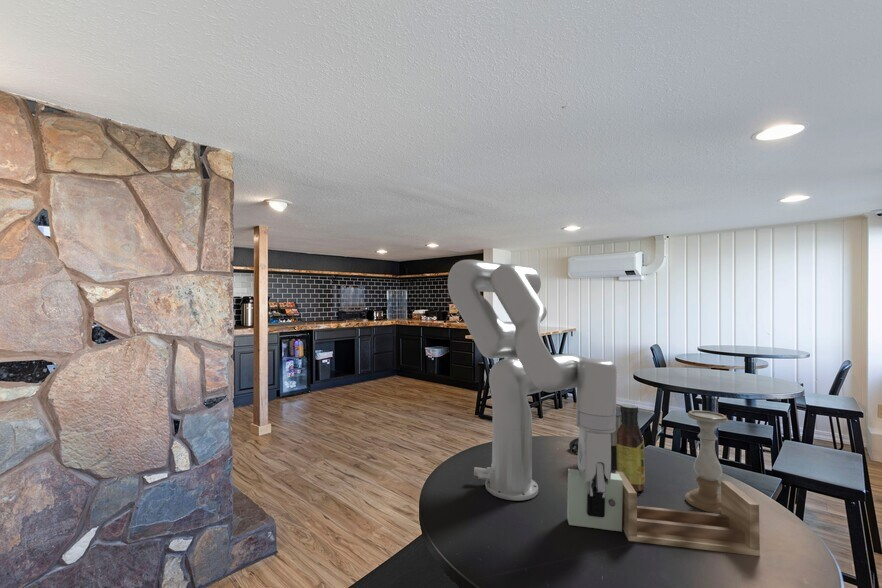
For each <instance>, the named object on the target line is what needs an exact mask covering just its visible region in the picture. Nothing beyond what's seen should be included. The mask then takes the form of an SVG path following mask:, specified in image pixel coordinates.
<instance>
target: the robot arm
mask: <svg viewBox="0 0 882 588" xmlns="http://www.w3.org/2000/svg"><path fill="white" fill-rule="evenodd" d="M541 288H542V282H541V277H540V275H539V274H538V272H537V270H535V269H533V268H532V267H531V266H525V265H519V264H511V263H500V262H493V261H485V260H479V259H478V260H477V259H462V260H459V261H457V262H455V264H453V265H452V267H451V268H450V270H449V272H448V277H447V290H448V295H449V298H450V300H451V302H452V305H454V307H455V309H456V310H457V311H458V313H459V314H460V317H461V318H462V320H463V322H464V324H465V325H466V328H467V330H468V331H469V334H470V336H471V338H472V339H473V342H474V343H475V346H476V347H477V349H478V351H479V353H480V354H481V356H482V357H485V358H486V359H500V360H498V361H497V362H495V363H494V364H493V365H492V367H491V368H490V370H489V372H488V373H489V374H488V384H489V388H490V389H489V391H490V397H491V403H492V404H491V405H492V407H491V408H492V437H491V438H492V441H491V442H492V443H491V444H492V445H491V448H492V451H491V454H492V455H491V464H490V465H491V466H487V467H486V468H485V467H484V468H483V467H477V466H474V467H473V469H474V470H473V476H477V479H478V480H485V489H486V491H487V492H489V493H490V494H491V495H492V496H495V497H497V498H499V499H503V500H507V501H514V502H515V501H517V502H518V501H519V502H520V501H526V500H530V499H533V498H535V497H536V496H537V495H538V493H539V485H538V483H537V482H536V481H535V480H534V479H532V478H533V477H532V476H533V472H532V471H533V470H532V469H533V467H532V466H533V415H532V409H531V406H530V403H529V401H528V397H527V396H528V395H533V394H536V393H540V392H542V391H543V392H544V393H545V392H546V393H554V392H558V391H559V392H560V391H564V390H569V389H575V388H576V411H575V412H576V415H575V417H576V419H575V420H576V421H575V426H576V427H577V428H579V431H578V438H579V442H578V453H577V460H576V461H577V463H576V464H577V468H578V470H579V471H580V473H581V476H582V478H583V480H584V481H585V482H588V481H589V494H588V495H587V514H588V515H589V516H594V517H604V516H605V483H606V484H609V483H610V480H611V473H612V468H611V436H610V433H612V432H615V431H616V409H617V378H618V377H617V374H618V372H617V366H616V364H615V363H614V362H613V361H610V360H606V359H602V358H601V359H600V358H588V357H584V356H581V355H578V354H574V353H562V354H561V353H559V354H552V353H550V350H549V349H548V347H547V345H546V344H545V343H544V341H543V339H542V336H541V334H540V333H541V332H540V324H541V323H542V322H543V321H544V320H545V319H546V317H547V314H548V311H547V308H546V307H545V305H544V304H543V302H542V300H541V299H540V297H539V296H538V293H539V292H540V291H541ZM480 292H484V293H485V292H486V293H494V294H495V295H496V297H497V299H498V300H499V302H500V304H501V306H502V308H503V309H504V311H505V313H506V314H507V316H508V318H509V319H510V321H503V320H501V319H500V317H499V316H498V315H497V313H496V311H495V310H494V309H495V308H493V306H492V304H491V303H490V302H489V301H488V300H487V299H486V298H485V297H484V296H483V295H482V294H481V293H480ZM593 478H596V479H593ZM593 484H597V485H596V486H594V487H593Z"/></svg>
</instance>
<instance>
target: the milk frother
mask: <svg viewBox="0 0 882 588" xmlns="http://www.w3.org/2000/svg"><path fill="white" fill-rule="evenodd" d="M621 424H622V422H621V410H620V409H618V408H616V431H615V432H612V433H610V436H611V469H617V445H616V443H617V430H618V429H619V427H620V426H621ZM578 442H579V437H578V438H574V439H572V440H571V441H570V442H569V444H568V446H569V450H571V451H572V452H574V453H576V454H578Z"/></svg>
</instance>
